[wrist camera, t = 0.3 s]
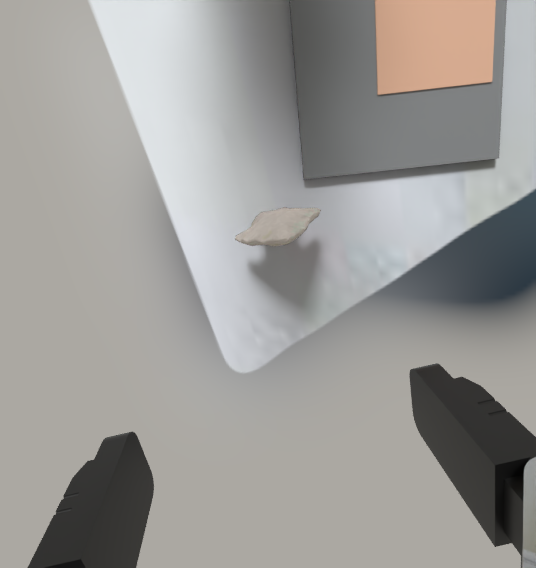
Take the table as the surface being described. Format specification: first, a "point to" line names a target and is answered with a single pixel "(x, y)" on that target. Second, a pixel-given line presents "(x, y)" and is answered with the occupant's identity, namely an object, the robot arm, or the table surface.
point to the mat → (397, 83)
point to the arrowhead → (278, 226)
